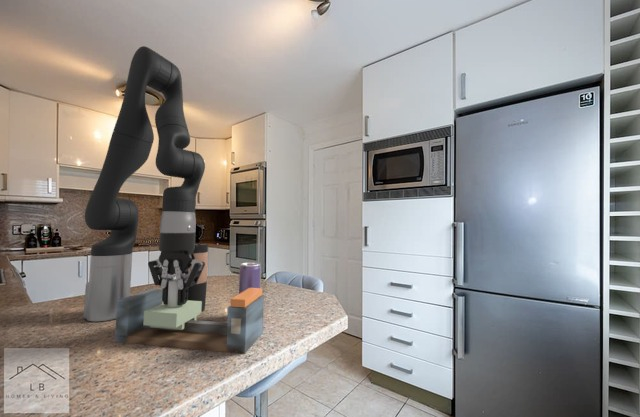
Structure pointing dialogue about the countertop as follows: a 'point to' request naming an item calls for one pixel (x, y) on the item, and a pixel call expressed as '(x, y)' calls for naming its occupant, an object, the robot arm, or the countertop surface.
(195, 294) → the travel mug
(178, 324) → the carriage
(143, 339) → the rail base
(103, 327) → the countertop surface
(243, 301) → the orange rectangular bar
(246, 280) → the beverage can
